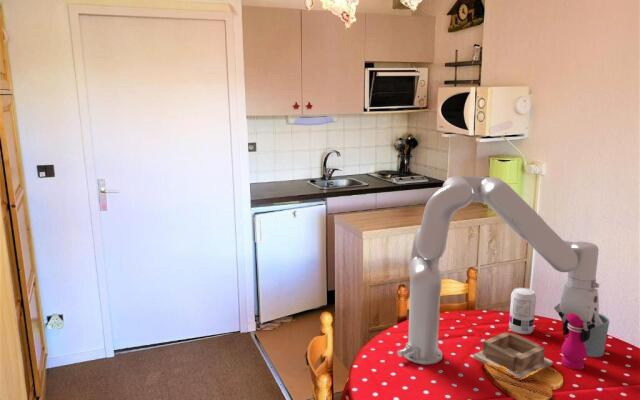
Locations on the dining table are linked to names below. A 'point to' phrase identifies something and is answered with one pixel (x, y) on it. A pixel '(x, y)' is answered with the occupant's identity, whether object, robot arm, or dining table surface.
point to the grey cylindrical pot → (597, 338)
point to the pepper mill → (574, 344)
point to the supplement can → (522, 310)
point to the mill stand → (513, 354)
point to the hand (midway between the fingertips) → (575, 336)
